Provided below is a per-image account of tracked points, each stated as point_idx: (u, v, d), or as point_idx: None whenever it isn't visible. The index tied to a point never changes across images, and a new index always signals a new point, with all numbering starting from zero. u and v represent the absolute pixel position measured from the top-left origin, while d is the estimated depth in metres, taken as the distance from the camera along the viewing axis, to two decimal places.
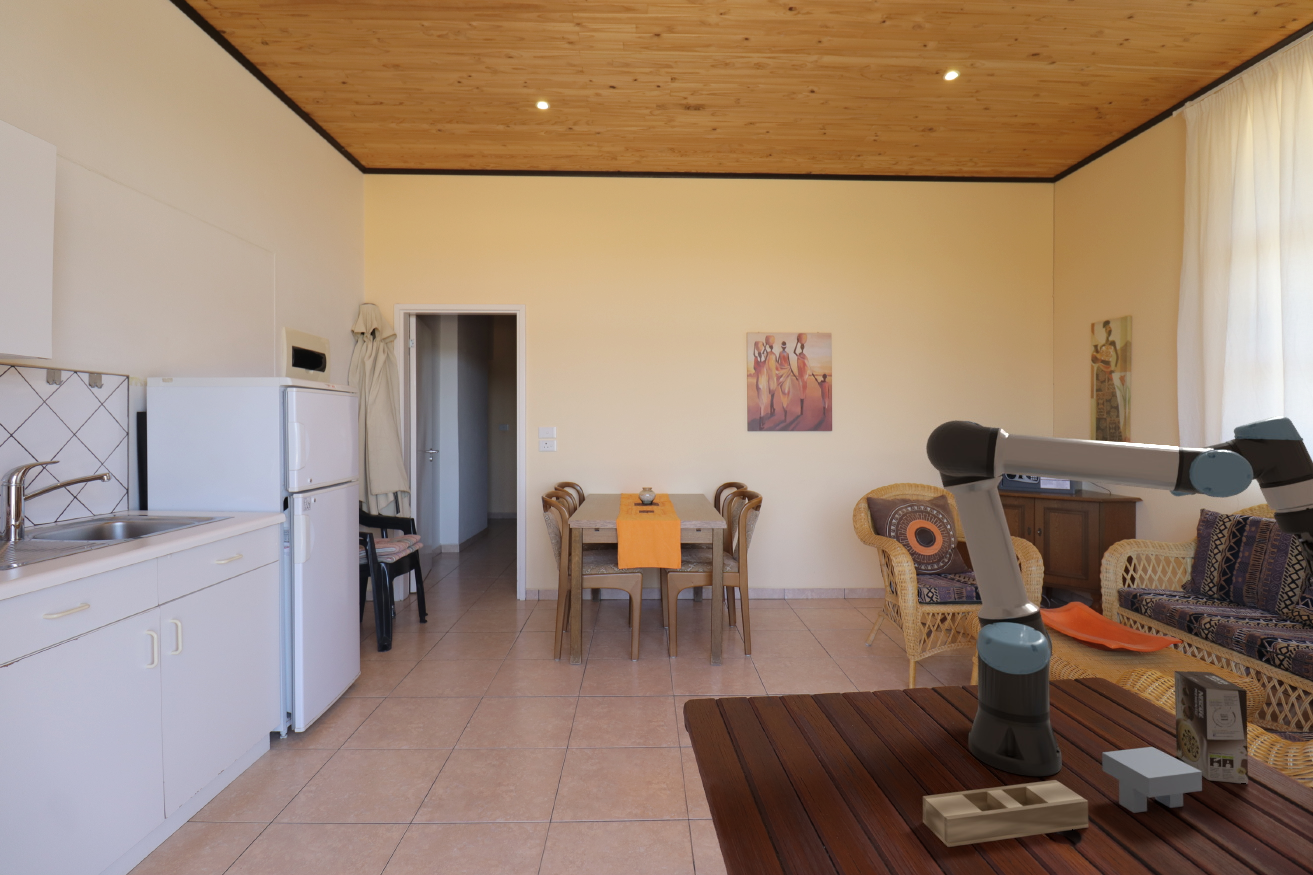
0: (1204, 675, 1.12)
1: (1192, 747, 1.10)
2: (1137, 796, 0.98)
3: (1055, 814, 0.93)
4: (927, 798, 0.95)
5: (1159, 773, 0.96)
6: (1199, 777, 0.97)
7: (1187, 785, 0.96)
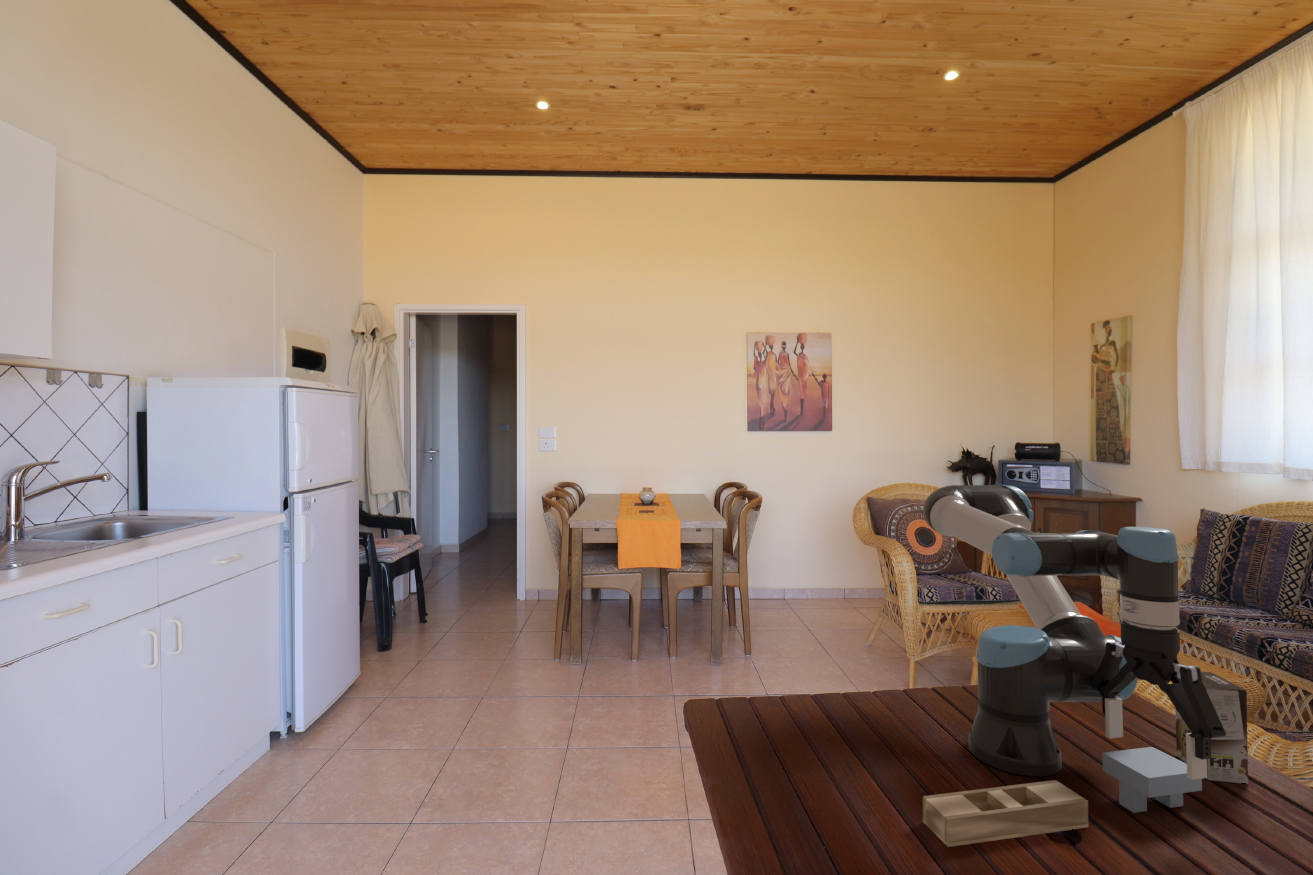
0: (1204, 675, 1.13)
1: None
2: (1137, 796, 0.98)
3: (1055, 814, 0.93)
4: (927, 798, 0.95)
5: (1159, 773, 0.96)
6: None
7: (1187, 785, 0.96)
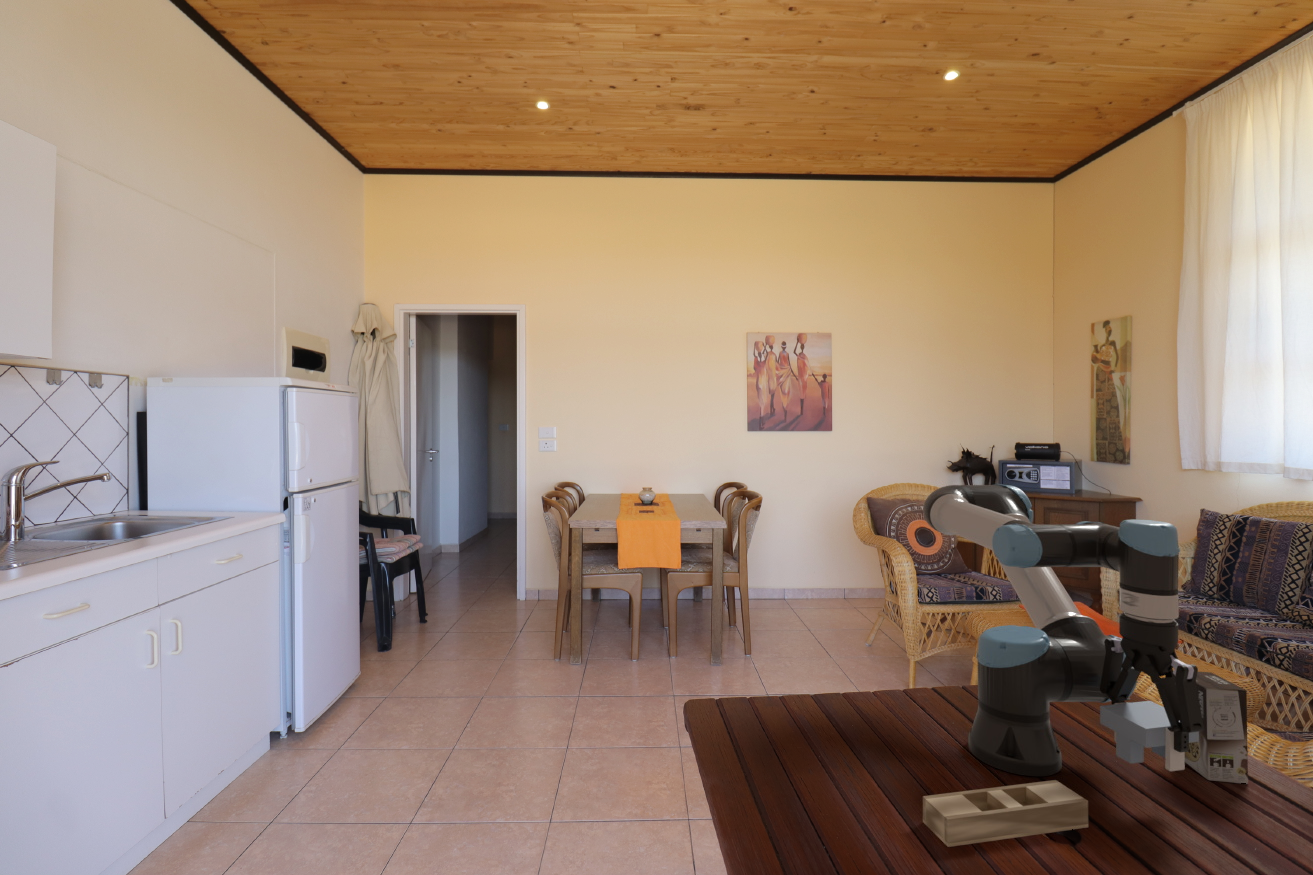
0: (1204, 675, 1.12)
1: (1192, 747, 1.10)
2: (1134, 747, 0.98)
3: (1055, 814, 0.93)
4: (927, 798, 0.95)
5: (1156, 724, 0.96)
6: None
7: None
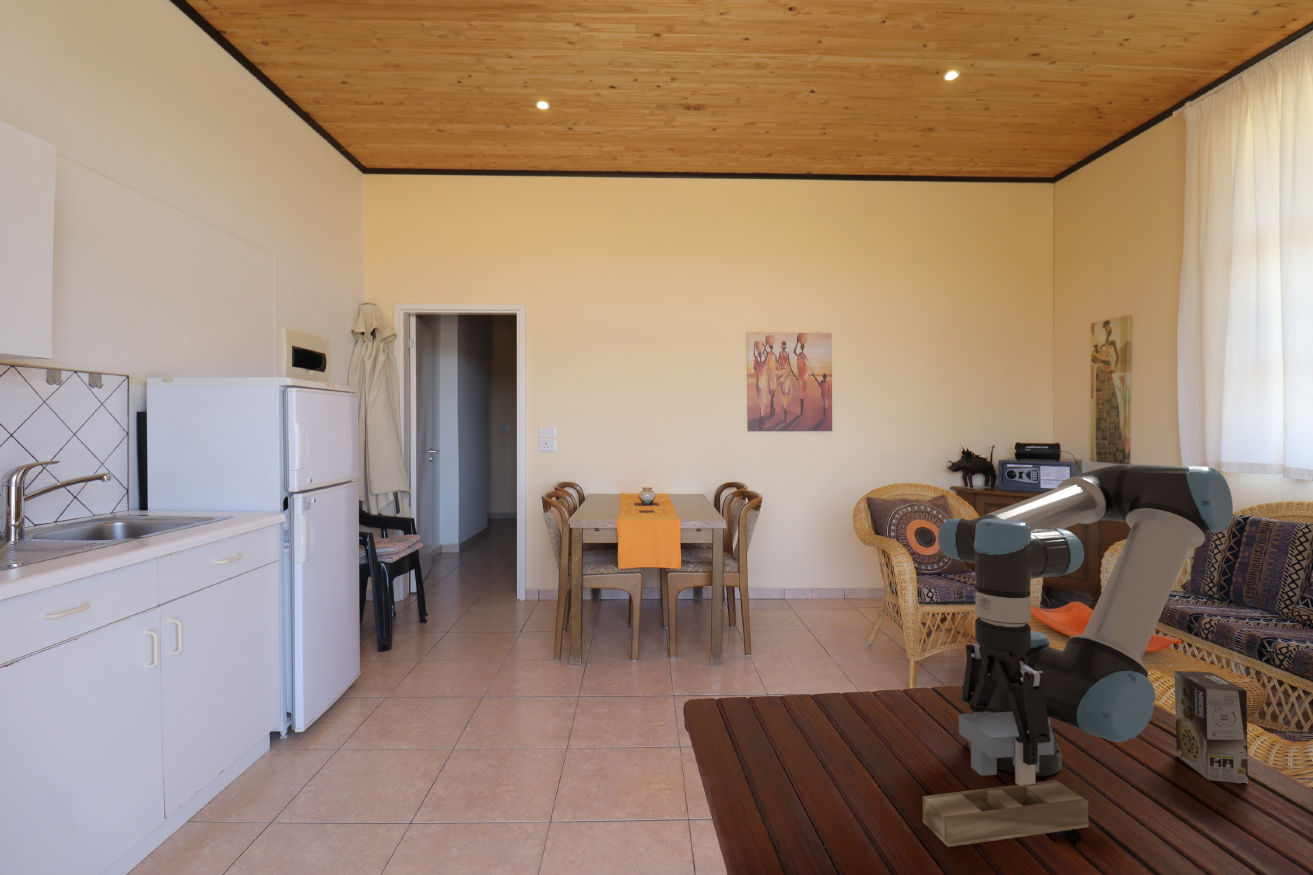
0: (1204, 675, 1.12)
1: (1192, 747, 1.10)
2: (985, 758, 0.93)
3: (1055, 814, 0.93)
4: (927, 798, 0.95)
5: (1005, 734, 0.91)
6: (1050, 740, 0.91)
7: None
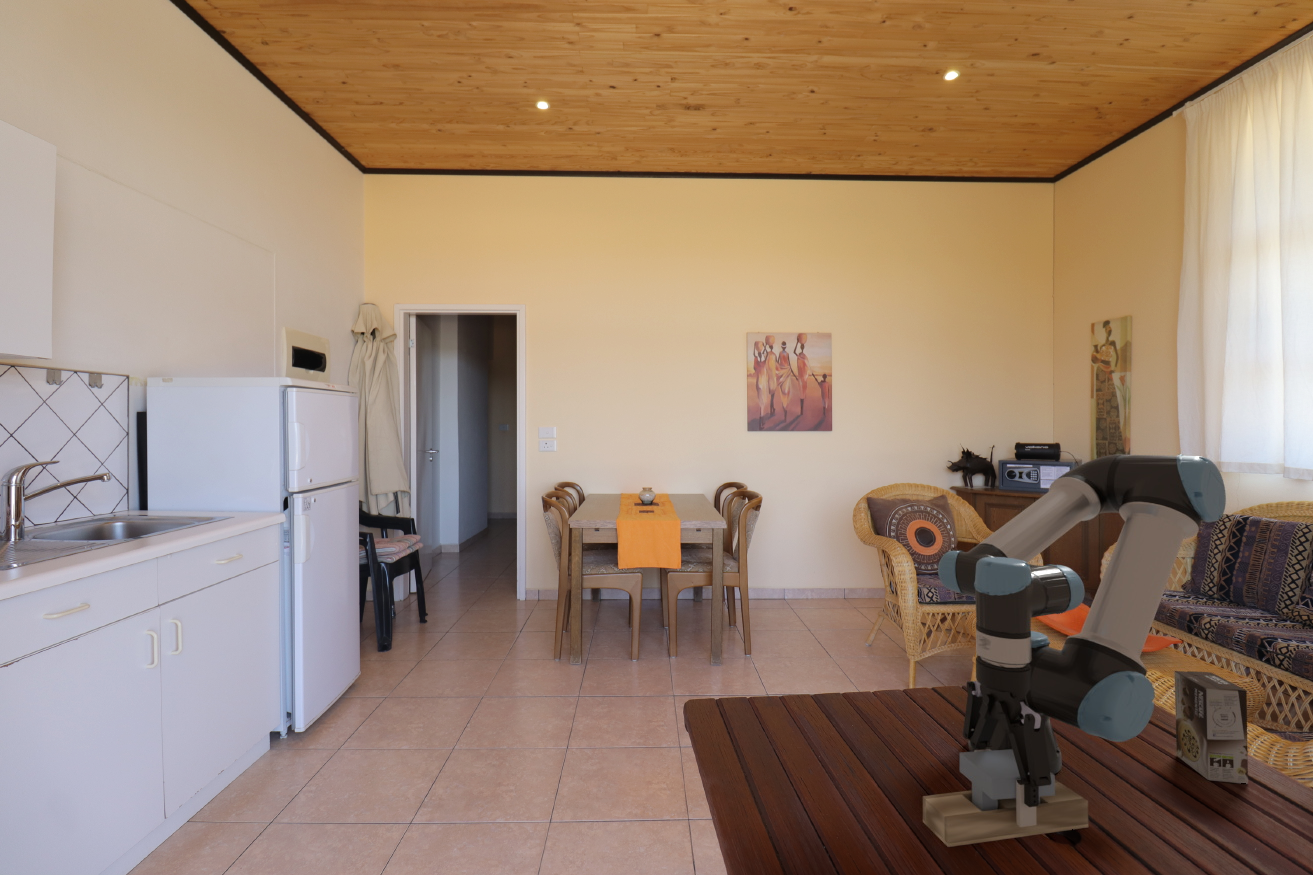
0: (1204, 675, 1.12)
1: (1192, 747, 1.10)
2: (986, 798, 0.93)
3: (1055, 814, 0.93)
4: (927, 798, 0.95)
5: (1006, 775, 0.91)
6: (1051, 781, 0.91)
7: None
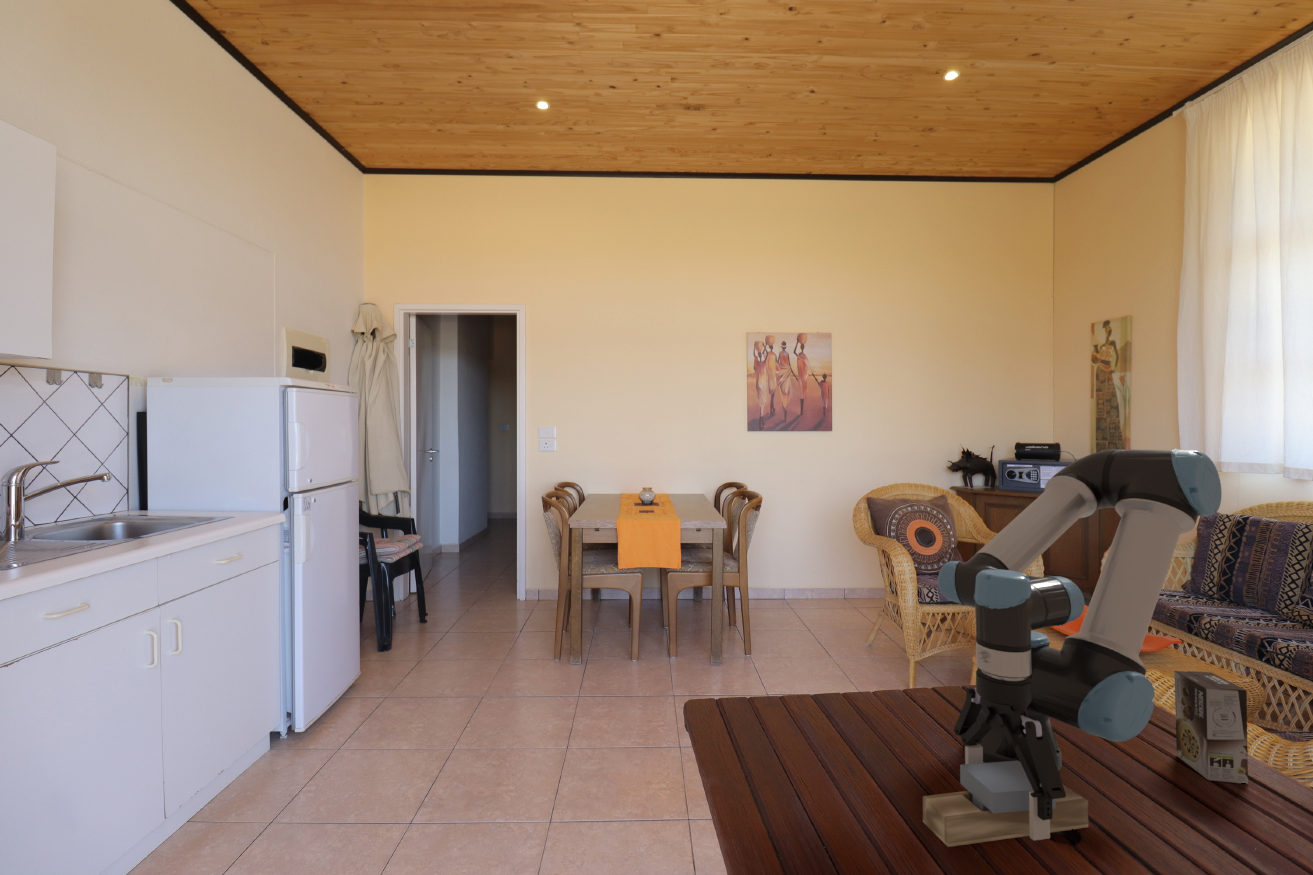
0: (1204, 675, 1.13)
1: (1192, 747, 1.10)
2: None
3: (1055, 814, 0.93)
4: (927, 798, 0.95)
5: (1007, 788, 0.91)
6: None
7: None
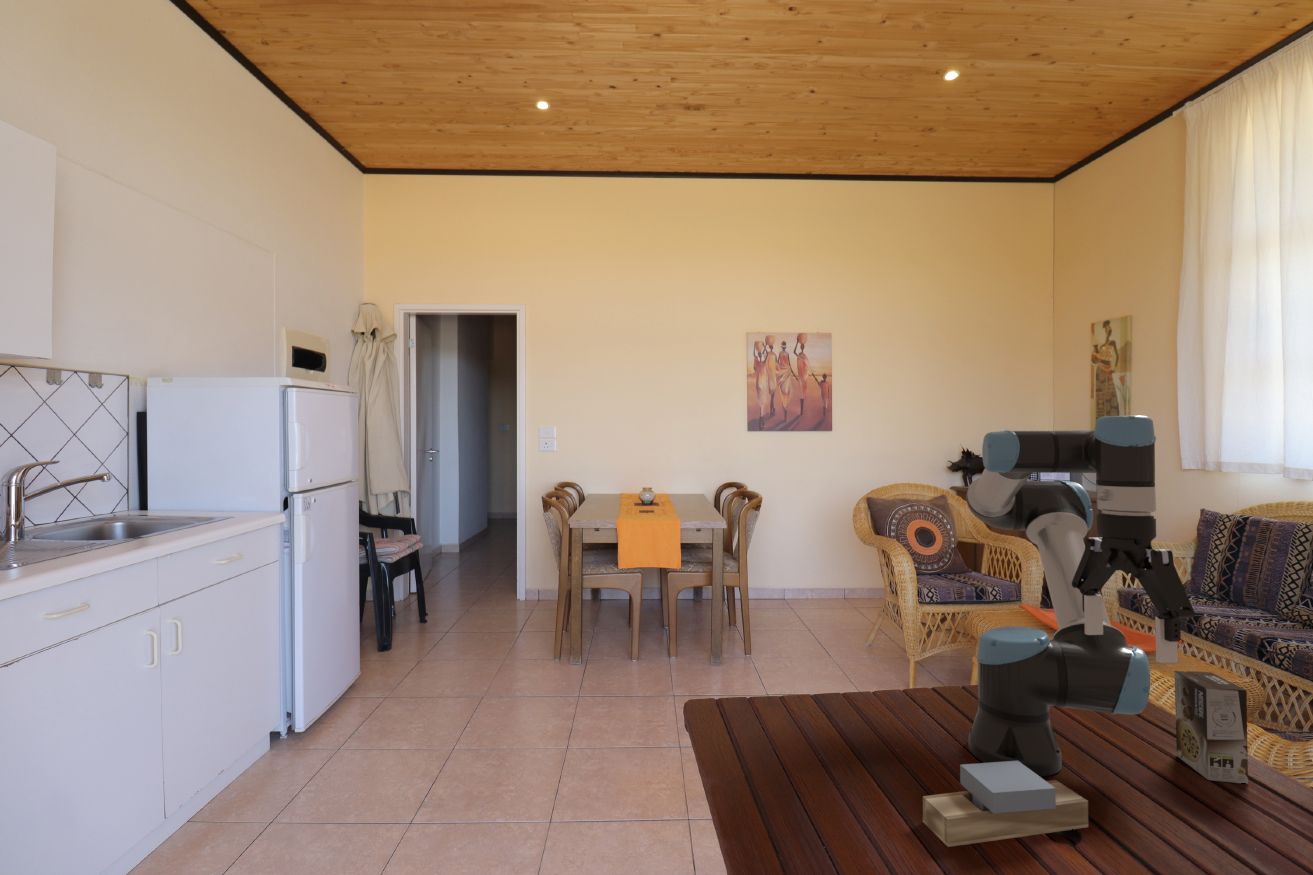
0: (1204, 675, 1.12)
1: (1192, 747, 1.10)
2: None
3: (1055, 814, 0.93)
4: (927, 798, 0.95)
5: (1007, 788, 0.91)
6: (1052, 794, 0.91)
7: (1038, 802, 0.91)
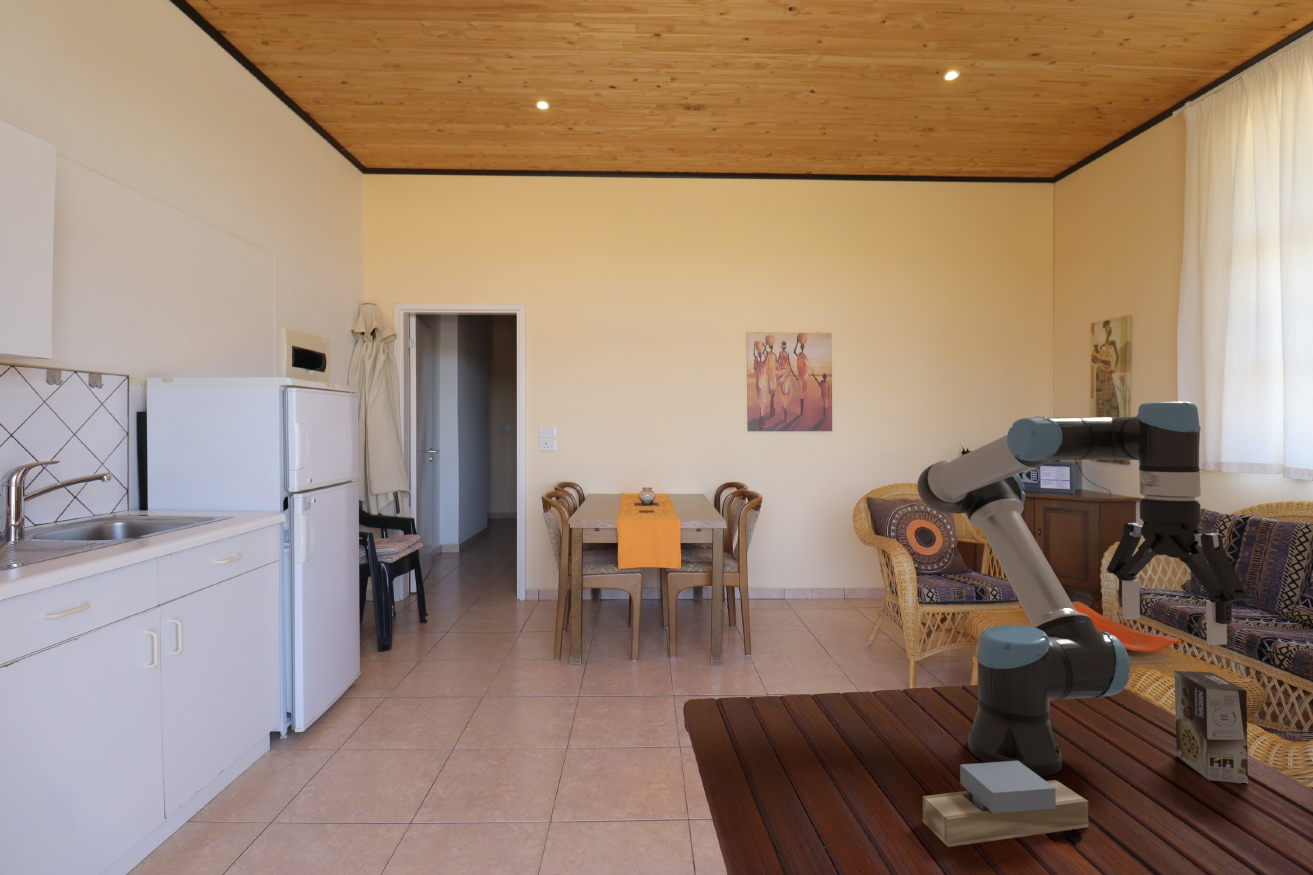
0: (1204, 675, 1.12)
1: (1192, 747, 1.10)
2: None
3: (1055, 814, 0.93)
4: (927, 798, 0.95)
5: (1007, 788, 0.91)
6: (1052, 794, 0.91)
7: (1038, 802, 0.91)
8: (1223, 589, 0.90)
